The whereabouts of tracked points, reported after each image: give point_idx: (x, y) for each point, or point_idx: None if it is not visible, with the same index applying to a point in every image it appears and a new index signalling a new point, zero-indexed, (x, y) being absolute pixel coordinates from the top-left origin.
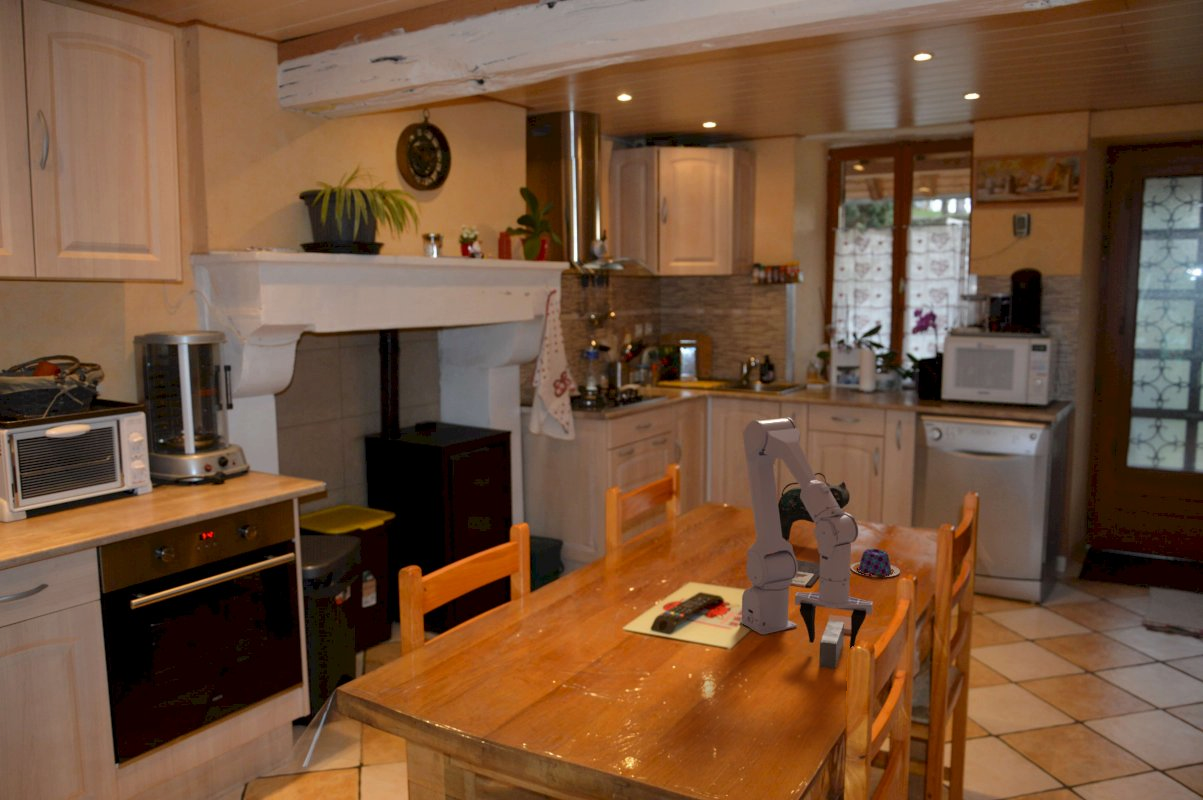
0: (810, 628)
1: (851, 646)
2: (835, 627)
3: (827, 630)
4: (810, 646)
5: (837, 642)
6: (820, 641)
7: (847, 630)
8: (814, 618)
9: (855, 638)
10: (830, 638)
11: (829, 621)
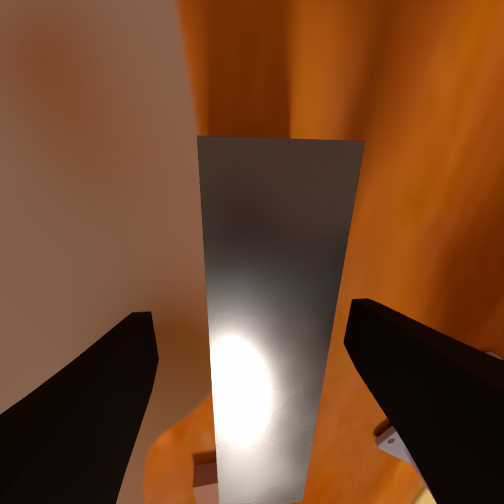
0: (445, 348)
1: (135, 316)
2: (257, 449)
3: (304, 395)
4: (332, 337)
5: (204, 237)
6: (358, 169)
7: None
8: (435, 476)
9: (73, 360)
10: (272, 274)
11: (298, 492)
